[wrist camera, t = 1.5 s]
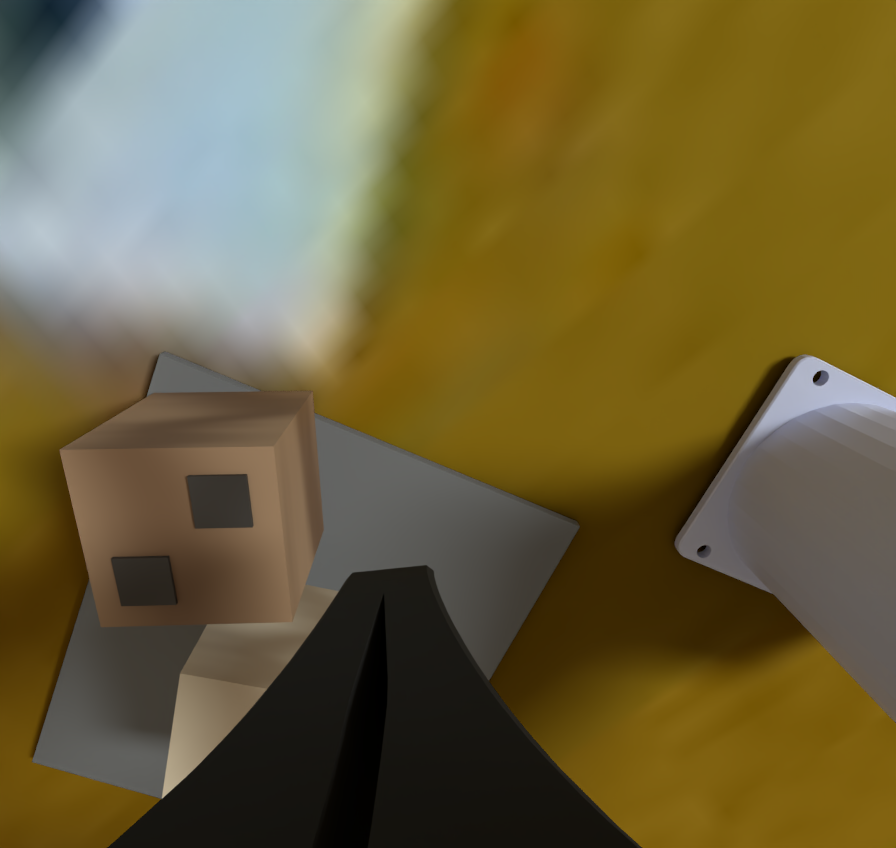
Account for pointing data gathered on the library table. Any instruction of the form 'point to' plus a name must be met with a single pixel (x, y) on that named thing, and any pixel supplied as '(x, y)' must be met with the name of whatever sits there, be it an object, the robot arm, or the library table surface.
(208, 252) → the library table surface
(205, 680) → the plain block
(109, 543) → the pip block two
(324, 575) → the felt mat
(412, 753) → the robot arm
